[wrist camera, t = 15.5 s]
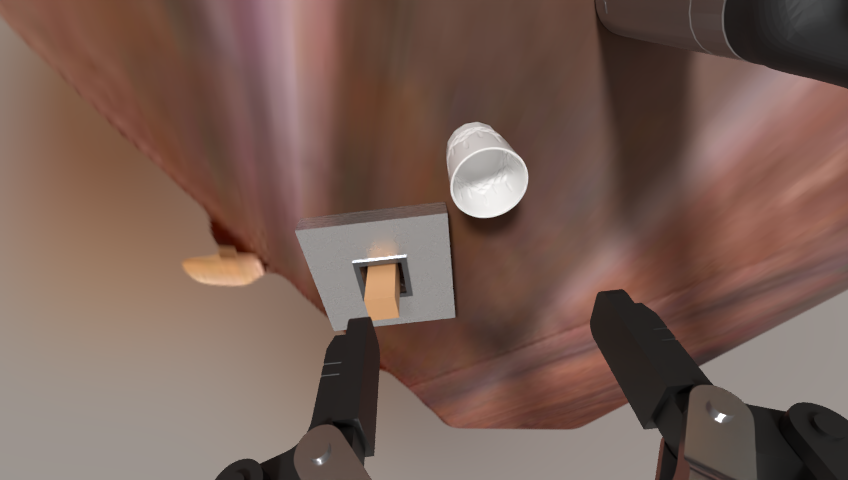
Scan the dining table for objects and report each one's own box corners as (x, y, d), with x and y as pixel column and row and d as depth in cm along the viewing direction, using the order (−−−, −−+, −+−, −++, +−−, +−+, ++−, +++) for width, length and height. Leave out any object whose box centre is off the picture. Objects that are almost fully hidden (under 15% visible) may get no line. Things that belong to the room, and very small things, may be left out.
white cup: (445, 182, 46) (454, 223, 38) (437, 122, 41) (446, 154, 33) (505, 172, 46) (527, 212, 37) (504, 111, 41) (529, 141, 33)
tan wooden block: (395, 253, 52) (394, 296, 45) (399, 273, 55) (399, 317, 47) (369, 257, 52) (364, 300, 45) (374, 276, 55) (370, 321, 47)
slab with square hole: (445, 201, 48) (447, 214, 45) (453, 304, 59) (455, 318, 56) (300, 218, 48) (294, 232, 45) (336, 317, 60) (333, 332, 57)
